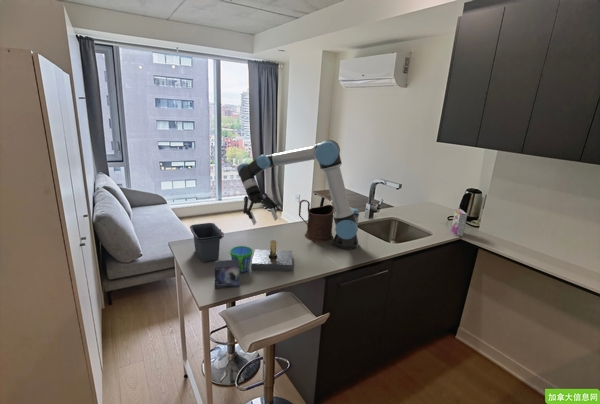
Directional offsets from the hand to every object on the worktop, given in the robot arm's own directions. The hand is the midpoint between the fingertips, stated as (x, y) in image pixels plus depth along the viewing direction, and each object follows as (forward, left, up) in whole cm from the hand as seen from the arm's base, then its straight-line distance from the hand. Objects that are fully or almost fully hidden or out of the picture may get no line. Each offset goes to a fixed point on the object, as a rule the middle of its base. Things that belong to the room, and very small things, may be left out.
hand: (266, 221), depth 163 cm
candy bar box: (-133, -44, -19) cm, 141 cm away
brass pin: (-5, +12, -18) cm, 22 cm away
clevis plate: (-5, +12, -18) cm, 22 cm away
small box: (+14, +34, -19) cm, 41 cm away
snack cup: (+10, +20, -19) cm, 29 cm away
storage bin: (+30, +5, -19) cm, 35 cm away
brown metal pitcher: (-30, -26, -19) cm, 44 cm away
